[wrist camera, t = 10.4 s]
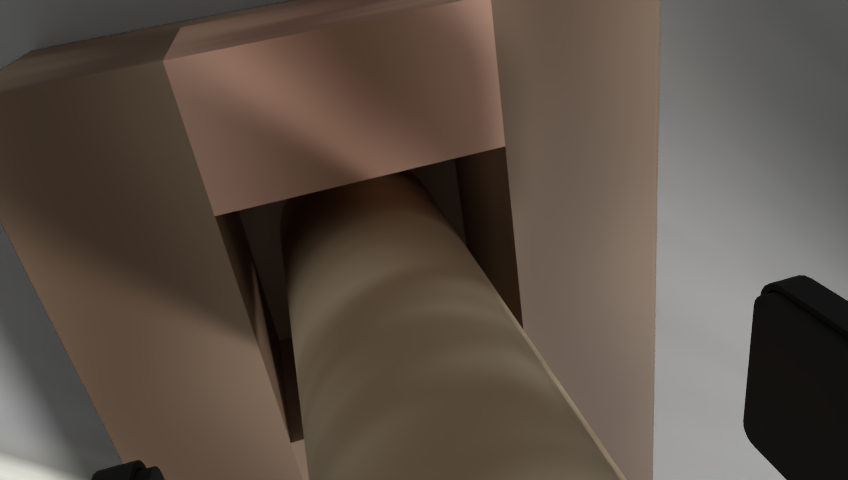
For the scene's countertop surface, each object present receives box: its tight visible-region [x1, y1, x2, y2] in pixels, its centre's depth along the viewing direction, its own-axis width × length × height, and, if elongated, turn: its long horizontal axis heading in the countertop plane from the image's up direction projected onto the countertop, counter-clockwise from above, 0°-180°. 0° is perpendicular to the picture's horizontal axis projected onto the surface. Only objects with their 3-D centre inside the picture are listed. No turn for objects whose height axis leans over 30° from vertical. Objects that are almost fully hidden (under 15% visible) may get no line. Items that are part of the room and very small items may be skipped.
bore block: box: [0, 0, 660, 480], centre depth 18 cm, size 12×22×5 cm, turn 9°
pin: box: [280, 170, 626, 480], centre depth 12 cm, size 4×4×12 cm
